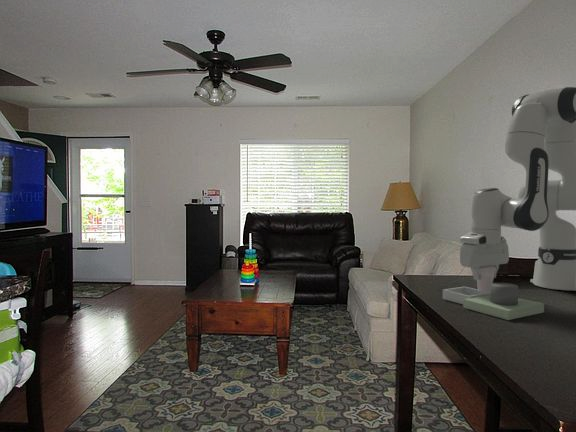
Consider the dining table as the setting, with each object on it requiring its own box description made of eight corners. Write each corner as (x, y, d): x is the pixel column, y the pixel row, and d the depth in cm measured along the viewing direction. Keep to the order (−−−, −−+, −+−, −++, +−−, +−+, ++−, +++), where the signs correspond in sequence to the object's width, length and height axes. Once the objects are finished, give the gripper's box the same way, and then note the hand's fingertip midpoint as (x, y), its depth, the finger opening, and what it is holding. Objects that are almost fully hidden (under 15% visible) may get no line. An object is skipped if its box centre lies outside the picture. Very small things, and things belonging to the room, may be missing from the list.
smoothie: (497, 298, 130) (498, 255, 130) (476, 297, 132) (477, 254, 131) (492, 293, 136) (493, 252, 136) (471, 292, 138) (472, 252, 137)
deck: (470, 294, 135) (470, 272, 135) (543, 312, 114) (544, 286, 114) (436, 299, 128) (436, 276, 128) (508, 320, 107) (508, 292, 106)
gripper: (497, 235, 141) (496, 274, 141) (456, 237, 131) (455, 279, 132) (514, 236, 135) (513, 277, 136) (473, 239, 126) (472, 283, 126)
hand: (484, 278), depth 134 cm, fingers closed on smoothie, 6 cm apart
